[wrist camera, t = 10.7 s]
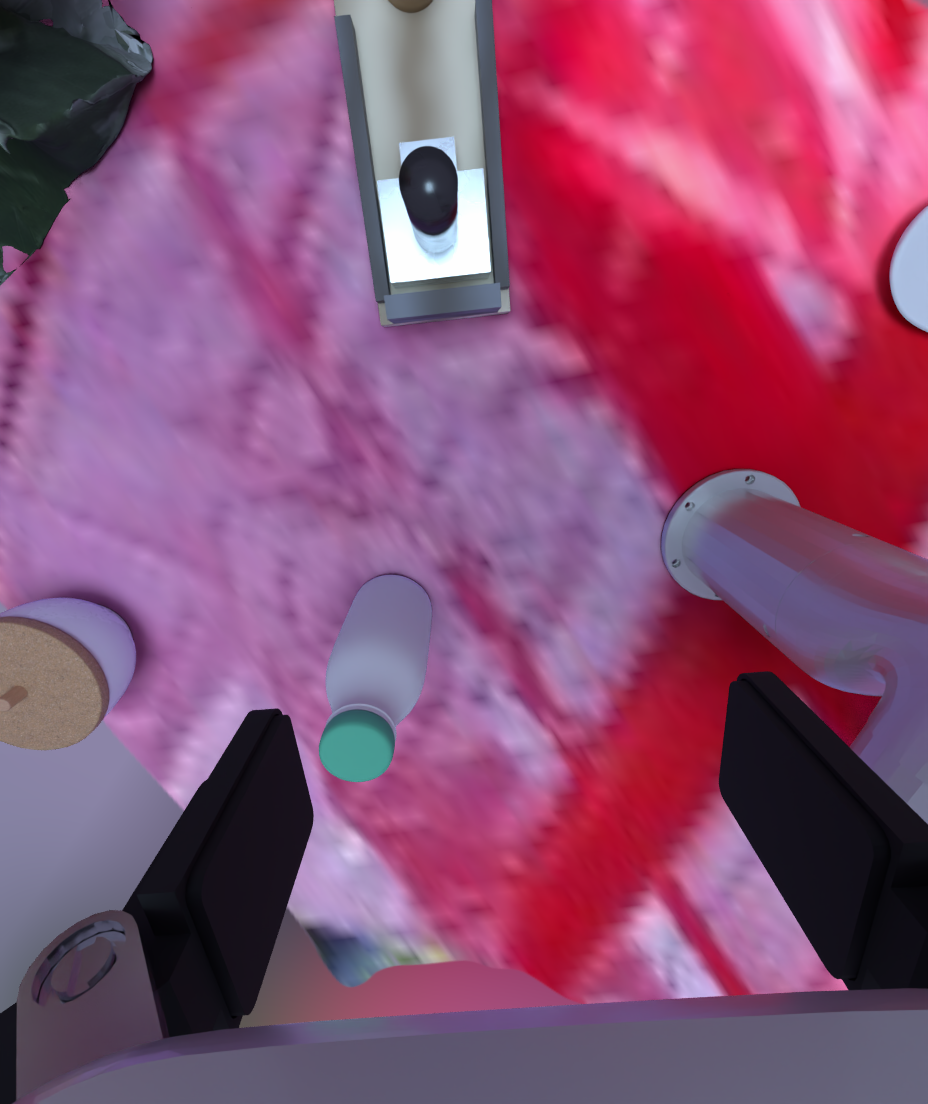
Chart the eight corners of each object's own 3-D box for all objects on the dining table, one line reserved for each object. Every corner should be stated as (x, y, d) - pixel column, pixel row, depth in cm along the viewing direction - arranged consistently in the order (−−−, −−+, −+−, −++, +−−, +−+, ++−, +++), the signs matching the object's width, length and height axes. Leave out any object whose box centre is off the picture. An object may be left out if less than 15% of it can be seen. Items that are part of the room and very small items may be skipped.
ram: (478, 148, 35) (488, 47, 24) (488, 278, 38) (501, 242, 26) (378, 160, 35) (341, 65, 24) (395, 288, 38) (369, 256, 27)
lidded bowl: (30, 561, 47) (-90, 616, 37) (167, 597, 49) (89, 659, 38) (28, 671, 51) (-80, 748, 41) (154, 701, 53) (80, 782, 43)
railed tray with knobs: (479, -121, 32) (484, -225, 26) (507, 313, 40) (515, 305, 35) (323, -101, 32) (294, -200, 26) (384, 327, 41) (372, 321, 35)
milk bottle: (346, 577, 48) (276, 712, 30) (425, 566, 48) (405, 695, 29) (363, 647, 51) (308, 811, 32) (438, 637, 51) (427, 796, 32)
